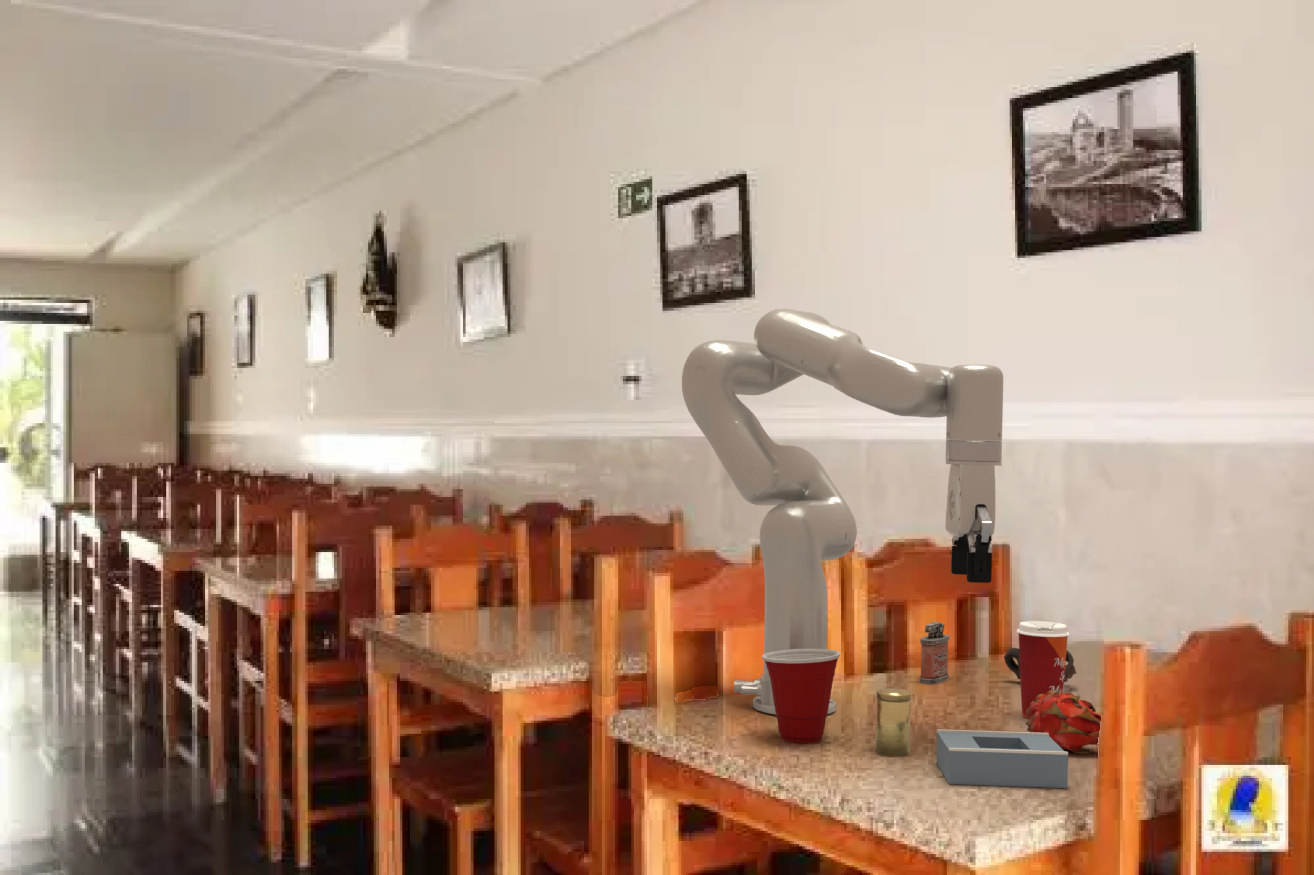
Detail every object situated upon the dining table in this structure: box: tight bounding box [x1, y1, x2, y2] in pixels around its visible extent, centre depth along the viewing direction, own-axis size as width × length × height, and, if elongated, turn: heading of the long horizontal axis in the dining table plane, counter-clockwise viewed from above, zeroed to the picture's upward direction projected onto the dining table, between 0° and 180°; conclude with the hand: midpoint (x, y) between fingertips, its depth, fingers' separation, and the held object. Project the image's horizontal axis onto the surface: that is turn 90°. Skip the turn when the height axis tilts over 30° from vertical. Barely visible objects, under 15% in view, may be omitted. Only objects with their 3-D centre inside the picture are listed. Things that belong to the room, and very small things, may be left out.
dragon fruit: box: [1025, 690, 1101, 755], centre depth 173 cm, size 8×8×12 cm
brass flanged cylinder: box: [875, 687, 912, 757], centre depth 169 cm, size 4×4×8 cm
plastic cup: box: [761, 648, 841, 744], centre depth 176 cm, size 11×11×12 cm
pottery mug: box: [1003, 647, 1077, 683], centre depth 217 cm, size 12×10×8 cm
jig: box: [935, 728, 1069, 789], centre depth 159 cm, size 14×10×4 cm
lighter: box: [919, 621, 950, 685], centre depth 220 cm, size 8×3×10 cm, turn 144°
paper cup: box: [1016, 620, 1071, 720], centre depth 193 cm, size 8×8×14 cm
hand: (970, 578), depth 177 cm, fingers open, 9 cm apart
